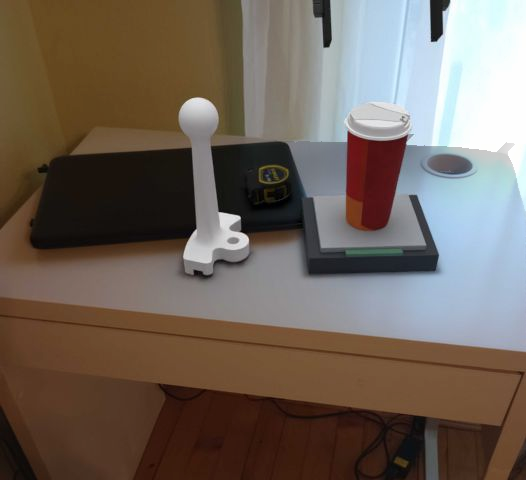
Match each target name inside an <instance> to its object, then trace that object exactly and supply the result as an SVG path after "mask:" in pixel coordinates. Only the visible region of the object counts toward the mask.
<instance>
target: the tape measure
mask: <svg viewBox="0 0 526 480" xmlns="http://www.w3.org/2000/svg"><path fill="white" fill-rule="evenodd" d="M242 175H243V176H242V177H243V182H244V185H245V187H246V189H247V192H248V193H247V194H248V202H249V203H251V202H252V203H255V202H261V201H263V200H264V201H266V200H279V199H282V198H284V196H287V195H288V194H289V193H291V194H292V192H293V189H294V179H293V174H292V173H291V171H290V169H288V168H287V167H286V166H284V165H282V164H278V163H263V164H259V165H256V166H252V167H248V168H247V169H244V170H243V174H242ZM291 194H290V195H289V197H290V196H291ZM289 197H286V198H285V199H283V200H280V201H276V202H262V203H259V204H252V203H251V204H252V205H253V206H261V205H263V204H278V203H281V202H283V201H285V200H287V199H288V198H289Z"/></svg>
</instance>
